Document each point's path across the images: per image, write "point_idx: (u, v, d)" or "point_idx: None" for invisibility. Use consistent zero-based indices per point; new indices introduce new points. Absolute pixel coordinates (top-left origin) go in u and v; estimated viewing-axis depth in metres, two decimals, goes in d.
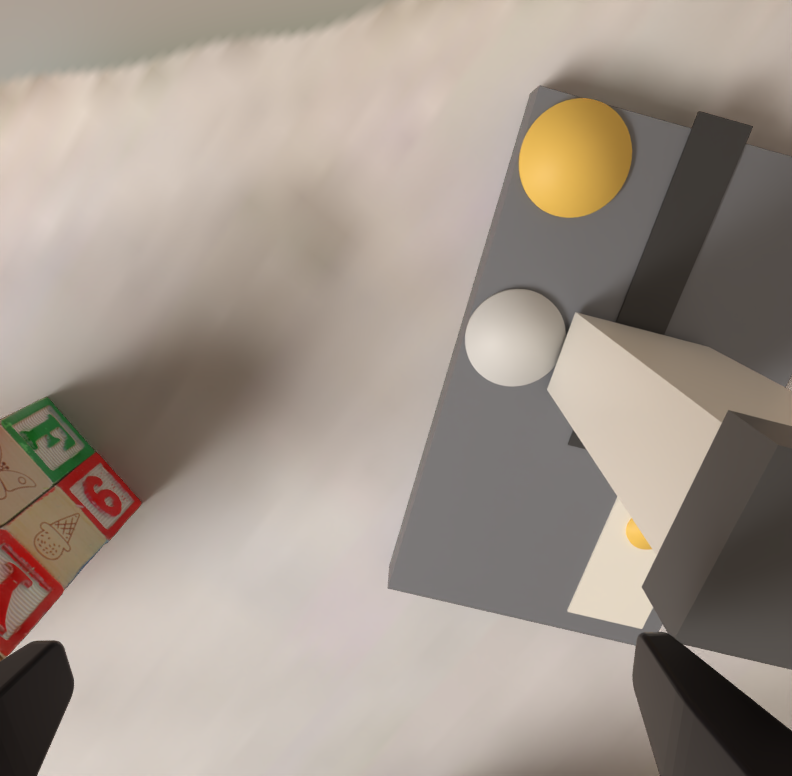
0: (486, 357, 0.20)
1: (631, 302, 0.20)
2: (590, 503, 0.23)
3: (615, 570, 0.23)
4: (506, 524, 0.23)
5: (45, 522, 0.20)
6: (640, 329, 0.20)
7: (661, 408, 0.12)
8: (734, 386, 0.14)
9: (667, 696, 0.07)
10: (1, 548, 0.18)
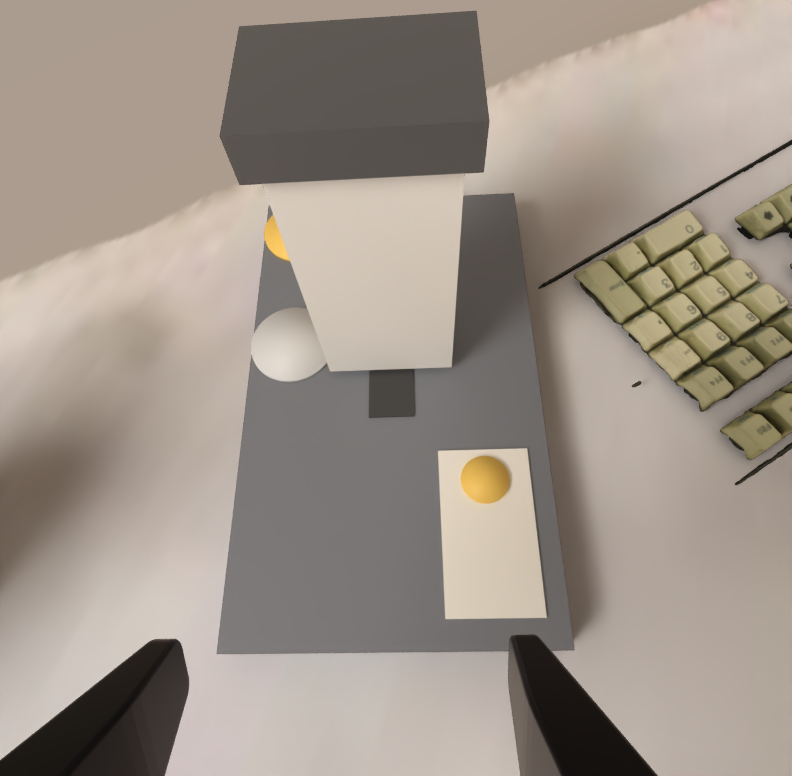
0: (272, 362, 0.24)
1: None
2: (414, 470, 0.21)
3: (474, 541, 0.20)
4: (336, 521, 0.21)
5: None
6: None
7: None
8: None
9: (521, 698, 0.07)
10: None
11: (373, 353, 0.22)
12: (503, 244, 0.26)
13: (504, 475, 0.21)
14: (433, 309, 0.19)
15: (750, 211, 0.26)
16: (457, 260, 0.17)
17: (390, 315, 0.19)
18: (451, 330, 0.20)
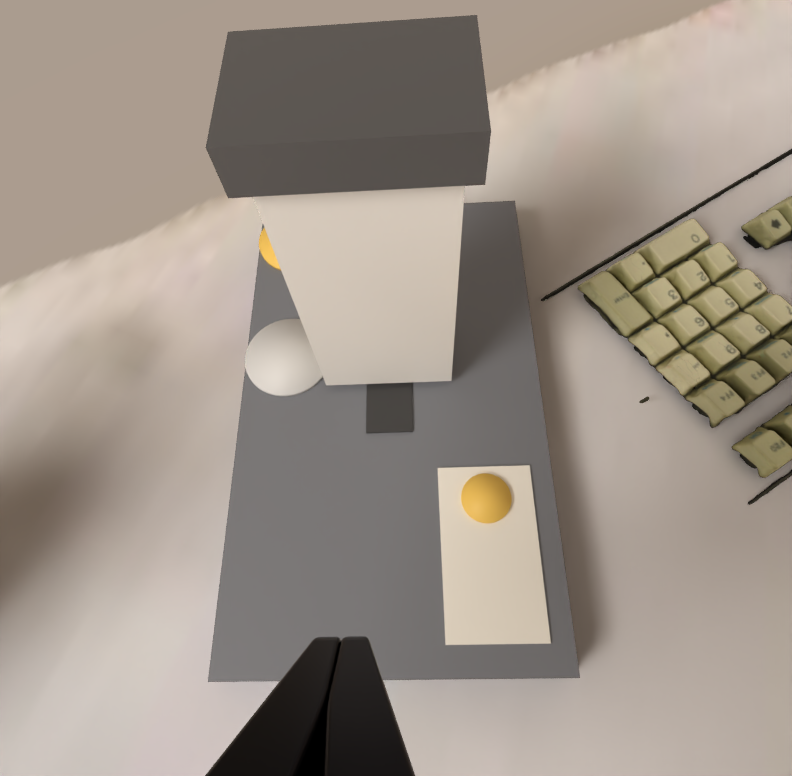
0: (266, 375, 0.23)
1: None
2: (413, 488, 0.21)
3: (475, 563, 0.19)
4: (332, 541, 0.20)
5: None
6: None
7: None
8: None
9: None
10: None
11: (370, 367, 0.21)
12: (504, 253, 0.25)
13: (506, 493, 0.20)
14: (432, 323, 0.18)
15: (757, 219, 0.26)
16: (457, 274, 0.16)
17: (387, 330, 0.19)
18: (451, 344, 0.20)
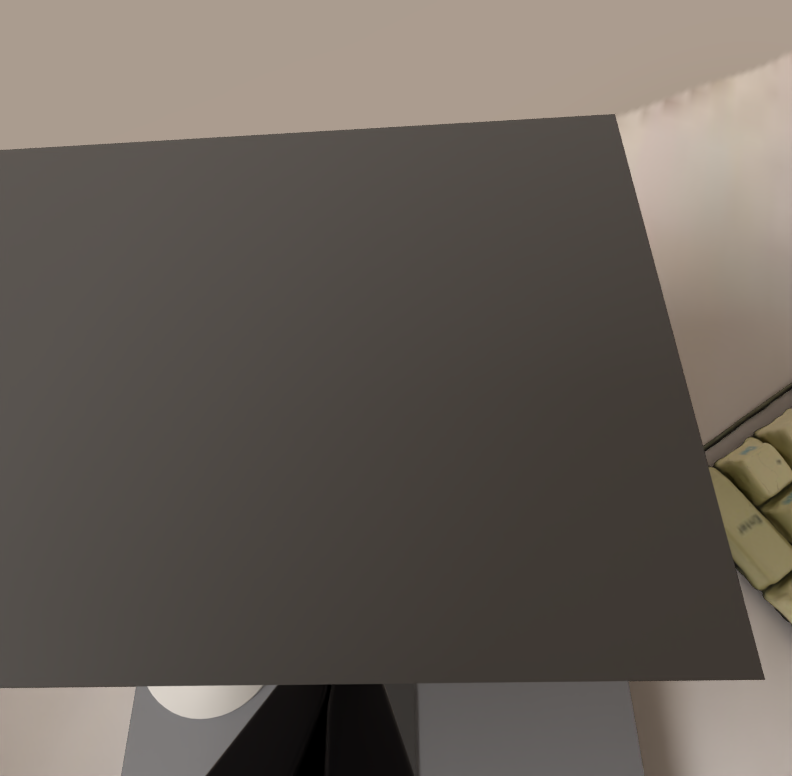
0: None
1: None
2: None
3: None
4: None
5: None
6: None
7: None
8: None
9: None
10: None
11: None
12: None
13: None
14: None
15: None
16: None
17: None
18: None
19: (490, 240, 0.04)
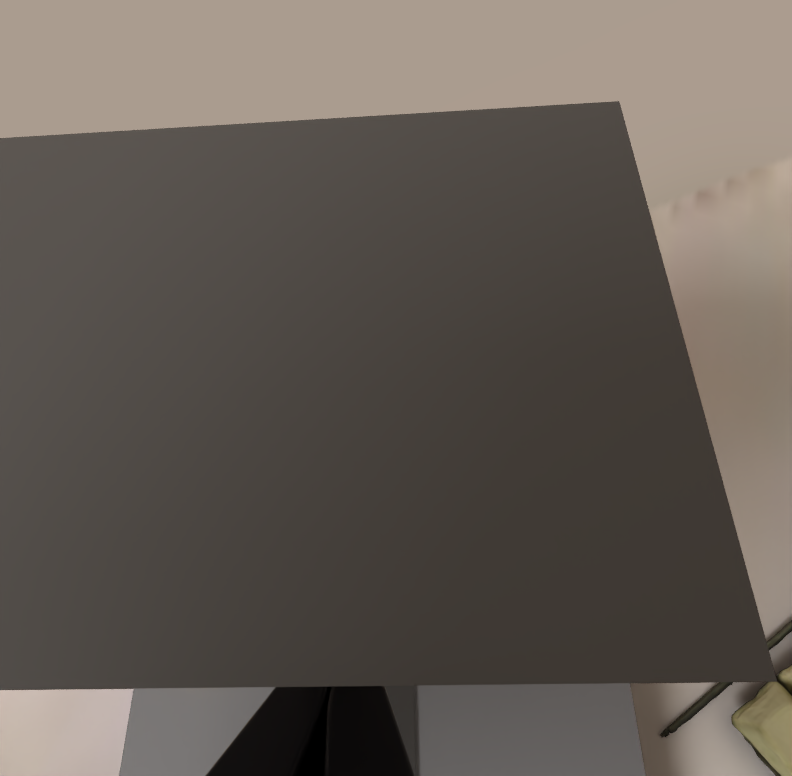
0: None
1: None
2: None
3: None
4: None
5: None
6: None
7: None
8: None
9: None
10: None
11: None
12: None
13: None
14: None
15: None
16: None
17: None
18: None
19: (492, 230, 0.04)
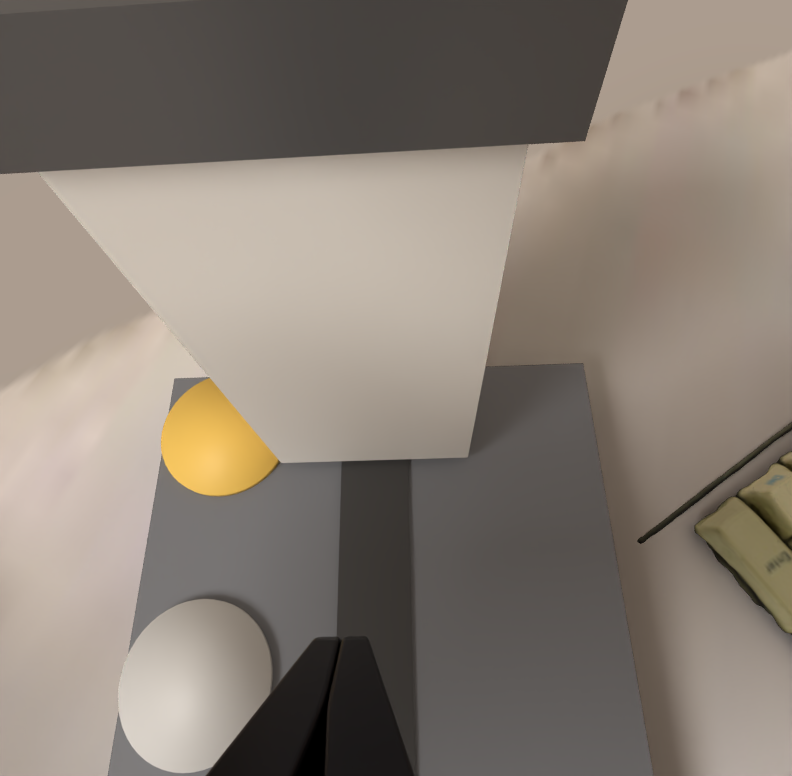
0: (154, 726, 0.13)
1: (348, 575, 0.14)
2: None
3: None
4: None
5: None
6: None
7: None
8: None
9: None
10: None
11: (345, 444, 0.14)
12: (570, 468, 0.15)
13: None
14: (441, 392, 0.11)
15: None
16: (491, 321, 0.09)
17: (368, 400, 0.11)
18: (471, 417, 0.12)
19: None
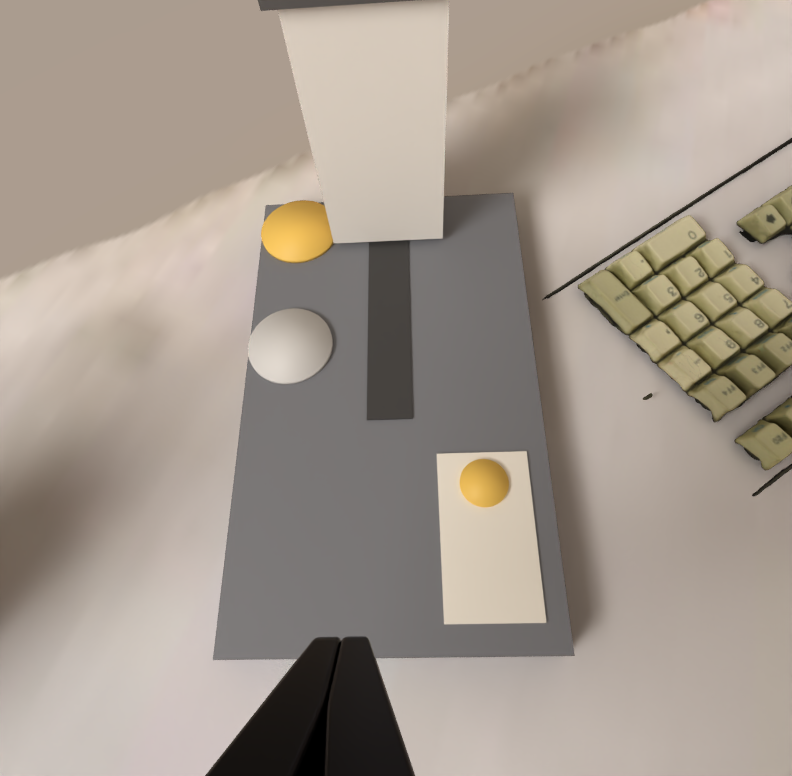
0: (269, 364, 0.23)
1: (373, 297, 0.25)
2: (413, 474, 0.21)
3: (473, 545, 0.20)
4: (334, 524, 0.20)
5: None
6: None
7: None
8: None
9: None
10: None
11: (372, 220, 0.24)
12: (502, 244, 0.25)
13: (503, 478, 0.21)
14: (424, 164, 0.22)
15: (752, 215, 0.26)
16: (445, 105, 0.19)
17: (387, 172, 0.22)
18: (441, 191, 0.23)
19: None
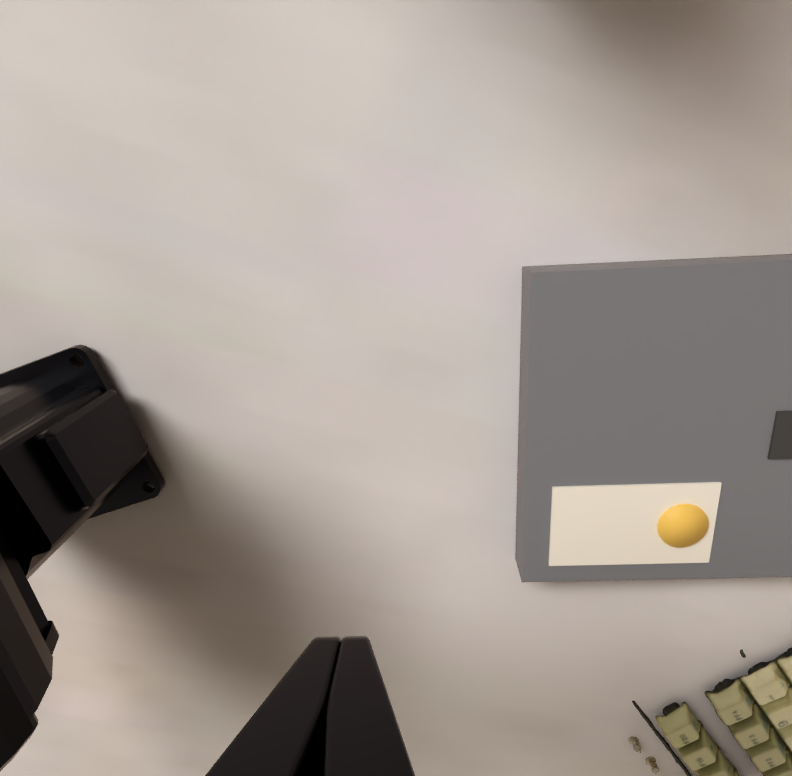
0: None
1: None
2: (702, 459, 0.20)
3: (621, 514, 0.21)
4: (658, 383, 0.19)
5: None
6: None
7: None
8: None
9: None
10: None
11: None
12: None
13: (684, 542, 0.21)
14: None
15: None
16: None
17: None
18: None
19: None
